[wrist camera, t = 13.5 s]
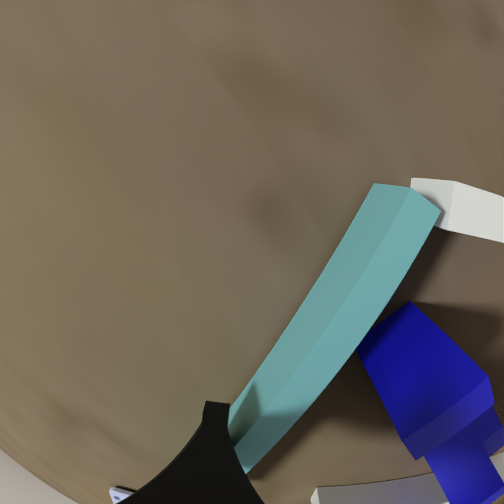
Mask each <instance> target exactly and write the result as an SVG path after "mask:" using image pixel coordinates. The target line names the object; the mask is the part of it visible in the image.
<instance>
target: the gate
mask: <svg viewBox="0 0 504 504" xmlns="http://www.w3.org/2000/svg"><path fill="white" fill-rule="evenodd" d="M440 212H441V210H439V209H438V208H437V207H436V206H434V205H433V204H432V203H431V202H429V201H428V200H427V199H426V198H424V197H423V196H422V195H421V194H419V193H418V192H417V191H415V190H414V189H413V188H409V187H402V186H394V185H385V184H376V183H374V184H373V186H372V188H371V190H370V191H369V193H368V195H367V197H366V199H365V200H364V202H363V204H362V206H361V207H360V209H359V211H358V213H357V214H356V216H355V218H354V220H353V221H352V223H351V225H350V227H349V228H348V230H347V232H346V233H345V235H344V237H343V239H342V240H341V242H340V244H339V245H338V247H337V249H336V250H335V252H334V254H333V255H332V257H331V259H330V260H329V262H328V263H327V265H326V267H325V268H324V270H323V272H322V273H321V275H320V276H319V278H318V280H317V281H316V283H315V284H314V286H313V288H312V289H311V291H310V292H309V294H308V296H307V297H306V299H305V300H304V302H303V303H302V305H301V306H300V308H299V310H298V311H297V313H296V314H295V316H294V317H293V319H292V320H291V322H290V323H289V325H288V326H287V328H286V329H285V331H284V332H283V334H282V335H281V337H280V338H279V340H278V341H277V343H276V344H275V346H274V347H273V349H272V350H271V352H270V353H269V354H268V356H267V357H266V359H265V360H264V362H263V363H262V365H261V366H260V367H259V369H258V370H257V372H256V373H255V375H254V376H253V377H252V379H251V380H250V382H249V383H248V384H247V386H246V387H245V389H244V390H243V391H242V393H241V394H240V395H239V397H238V398H237V400H236V401H235V402H234V404H233V405H232V406H231V408H230V410H229V420H228V430H229V434H230V437H231V440H232V443H233V446H234V449H235V452H236V454H237V457H238V459H239V461H240V464H241V466H242V468H243V470H244V472H245V474H246V473H247V472H248V471H250V470H251V469H252V468H253V467H254V466H255V465H256V464H257V463H258V462H259V461H260V460H261V459H262V458H263V457H264V456H265V455H266V454H267V453H268V452H269V451H270V449H271V448H272V447H273V446H274V445H275V444H276V443H277V442H278V441H279V440H280V439H281V438H282V437H283V436H284V435H285V434H286V432H287V431H288V430H289V429H290V428H291V427H292V426H293V425H294V424H295V423H296V421H297V420H298V419H299V418H300V417H301V416H302V415H303V414H304V412H305V411H306V410H307V409H308V408H309V407H310V405H311V404H312V403H313V402H314V401H315V399H316V398H317V397H318V396H319V395H320V393H321V392H322V391H323V390H324V389H325V387H326V386H327V385H328V384H329V382H330V381H331V380H332V379H333V377H334V376H335V375H336V374H337V372H338V371H339V370H340V369H341V367H342V366H343V365H344V363H345V362H346V361H347V359H348V358H349V357H350V355H351V354H352V353H353V351H354V350H355V349H356V347H357V346H358V345H359V343H360V342H361V340H362V339H363V338H364V336H365V335H366V333H367V332H368V331H369V329H370V328H371V326H372V325H373V323H374V322H375V321H376V319H377V318H378V316H379V315H380V313H381V312H382V310H383V309H384V307H385V306H386V304H387V303H388V301H389V300H390V298H391V297H392V295H393V293H394V292H395V290H396V289H397V287H398V286H399V284H400V282H401V281H402V279H403V278H404V276H405V274H406V273H407V271H408V269H409V268H410V266H411V264H412V263H413V261H414V259H415V258H416V256H417V254H418V252H419V251H420V249H421V247H422V245H423V244H424V242H425V240H426V238H427V236H428V235H429V233H430V231H431V229H432V227H433V225H434V224H435V222H436V220H437V218H438V216H439V214H440Z"/></svg>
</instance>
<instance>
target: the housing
mask: <svg viewBox="0 0 504 504" xmlns="http://www.w3.org/2000/svg"><path fill="white" fill-rule="evenodd" d="M410 188H413V189H414V190H415V191H417V192H418V193H419V194H421V195H422V196H423V197H424V198H426V199H427V200H428V201H429V202H431V203H432V204H433V205H434V206H436V207H437V208H438V209H439V210H441V212H440V214H439V216H438V218H437V220H436V222H435V224H434V226H437V227H440V228H442V229H445V230H449V231H454V232H458V233H463V234H468V235H472V236H477V237H481V238H486V239H490V240H494V241H499V242H503V243H504V197H502V196H499V195H496V194H493V193H490V192H487V191H484V190H481V189H478V188H475V187H472V186H469V185H465V184H462V183H459V182H456V181H448V180H436V179H424V178H411V185H410ZM489 458H490V460H491V461H492V463H493V465H494V467H495V468H496V470H497V472H498V473H499V475H500V477H501V478H502V480H503V481H504V452H502V453H499V454H496V455H493V456H491V457H489ZM311 504H450V503H449V501H448V499H447V497H446V495H445V494H444V492H443V490H442V488H441V486H440V484H439V482H438V480H437V478H436V477H435V475H434V473H429V474H424V475H420V476H414V477H409V478H403V479H397V480H391V481H384V482H377V483H368V484H359V485H348V486H333V487H317V488H316V489H315V491H314V493H313V495H312V497H311Z"/></svg>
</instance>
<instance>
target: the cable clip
mask: <svg viewBox="0 0 504 504" xmlns="http://www.w3.org/2000/svg"><path fill="white" fill-rule="evenodd" d="M355 350H356V351H357V353H358V355H359V357H360V359H361V361H362V363H363V365H364V367H365V369H366V371H367V372H368V374H369V376H370V378H371V380H372V382H373V384H374V386H375V388H376V390H377V392H378V394H379V396H380V398H381V400H382V402H383V404H384V406H385V408H386V410H387V412H388V414H389V416H390V418H391V420H392V422H393V424H394V426H395V428H396V430H397V432H398V434H399V436H400V438H401V440H402V442H403V443H404V445H405V446H406V447H407V449H408V450H409V452H410V453H411V454H412V456H413V457H414V459H415V460H417V459H419V458H421V457H422V456H424V457H425V459H426V460H427V462H428V464H429V466H430V467H431V469H432V471H433V473H434V475H435V477H436V478H437V480H438V482H439V484H440V486H441V488H442V490H443V492H444V494H445V495H446V497H447V499H448V501H449V503H450V504H491V503H492V502H493V501H495V500H496V499H497V498H499V497H500V496H501V495H503V494H504V481H503V480H502V478H501V477H500V475H499V473H498V472H497V470H496V468H495V467H494V465H493V463H492V461H491V460H490V458H489V457H490V456H491V455H493V454H494V453H495V452H496V451H498V450H499V449H500V448H501V447H502V446H504V431H503V425H502V423H501V422H500V420H499V418H498V416H497V414H496V412H495V410H494V407H493V404H494V403H495V402H494V397H493V393H492V388H491V384H490V380H489V376H488V375H487V374H486V373H485V372H484V371H483V370H482V369H481V368H480V367H479V366H478V365H477V364H476V363H475V362H474V361H473V360H472V359H471V358H470V357H469V356H468V355H467V354H466V353H465V352H464V351H463V350H462V349H461V348H460V347H459V346H458V345H457V344H455V343H454V342H453V341H452V340H451V339H450V338H449V337H448V336H447V335H446V334H445V333H444V332H443V331H442V330H441V329H440V328H439V327H438V326H437V325H436V324H434V323H433V322H432V321H431V320H430V319H429V318H428V317H427V316H426V315H425V314H424V313H423V312H422V311H420V310H419V309H418V308H417V307H416V306H415V305H414V304H413V303H412V302H411V301H409V302H408V303H406V304H405V305H404V306H402V307H401V308H400V309H398V310H397V311H396V312H394V313H393V314H392V315H390V316H389V317H387V318H386V319H385V320H383V321H382V322H380V323H379V324H378V325H376V326H375V327H373V328H372V329H371V330H369V331H368V332H367V333H366V335H365V336H364V338H363V339H362V340H361V342H360V343H359V345H358V346H357V347H356V349H355Z"/></svg>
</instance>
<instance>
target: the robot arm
mask: <svg viewBox="0 0 504 504" xmlns="http://www.w3.org/2000/svg"><path fill="white" fill-rule="evenodd" d="M229 410H230V404H228V403H219V402H212V401H206V403H205V406H204V410H203V417H202V423H201V424H200V426H199V427H198V429H197V430H196V432H195V433H194V435H193V436H192V438H191V439H190V441H189V442H188V443H187V444H186V446H185V447H184V448H183V449H182V451H181V452H180V453H179V454H178V455H177V456H176V457H175V459H174V460H173V461H172V462H171V463H170V464H169V465H168V466H167V467H166V468H165V469H164V470H163V471H161V472H160V473H159V474H158V475H157V476H156V477H155V478H153V479H152V480H151V481H150V482H148V483H147V484H146V485H144V486H143V487H142V488H140V489H139V490H137V491H136V492H130V491H127V490H123V489H120V488H116V487H111V488H110V490H109V493H110V496H111V498H112V501H113V503H114V504H265V503H264V502H263V501H262V499H261V498H260V497H259V495H258V494H257V492H256V491H255V489H254V488H253V486H252V484H251V483H250V481H249V479H248V477H247V476H246V474H245V472H244V470H243V468H242V466H241V464H240V461H239V459H238V457H237V454H236V452H235V449H234V446H233V443H232V440H231V437H230V434H229V430H228V420H229Z"/></svg>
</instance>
